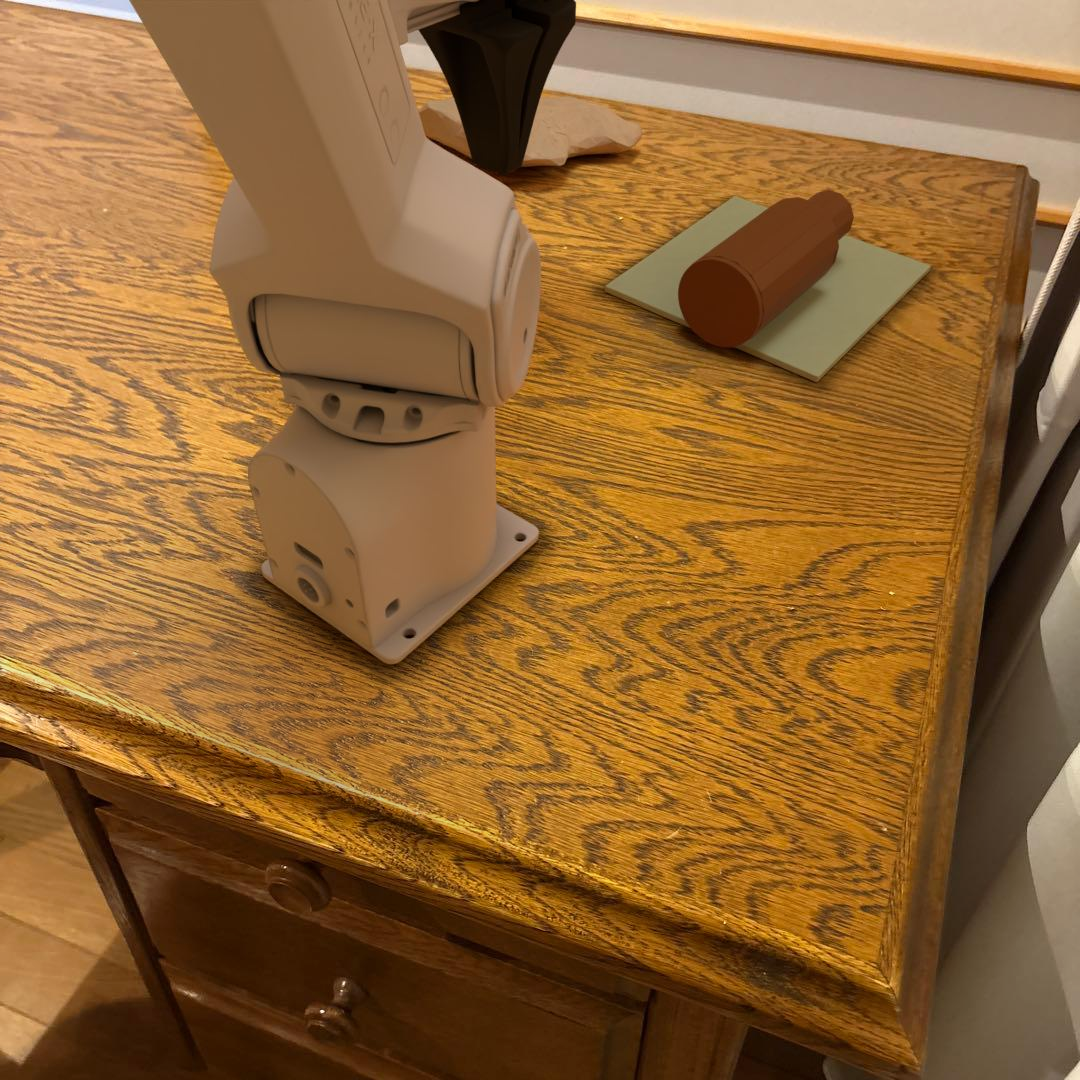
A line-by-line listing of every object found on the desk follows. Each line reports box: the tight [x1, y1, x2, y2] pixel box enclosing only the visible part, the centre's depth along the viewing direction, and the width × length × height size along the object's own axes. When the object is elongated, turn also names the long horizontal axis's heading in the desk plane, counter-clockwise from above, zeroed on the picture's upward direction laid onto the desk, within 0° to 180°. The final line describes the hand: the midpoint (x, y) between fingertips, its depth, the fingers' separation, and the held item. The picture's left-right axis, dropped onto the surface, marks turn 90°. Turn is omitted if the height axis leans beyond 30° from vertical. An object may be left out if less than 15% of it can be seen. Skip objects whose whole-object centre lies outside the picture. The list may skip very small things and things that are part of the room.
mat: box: [604, 195, 932, 383], centre depth 60 cm, size 15×14×1 cm
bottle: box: [678, 189, 855, 348], centre depth 56 cm, size 5×5×13 cm
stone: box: [418, 95, 644, 168], centre depth 71 cm, size 14×4×15 cm
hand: (497, 165), depth 47 cm, fingers closed
